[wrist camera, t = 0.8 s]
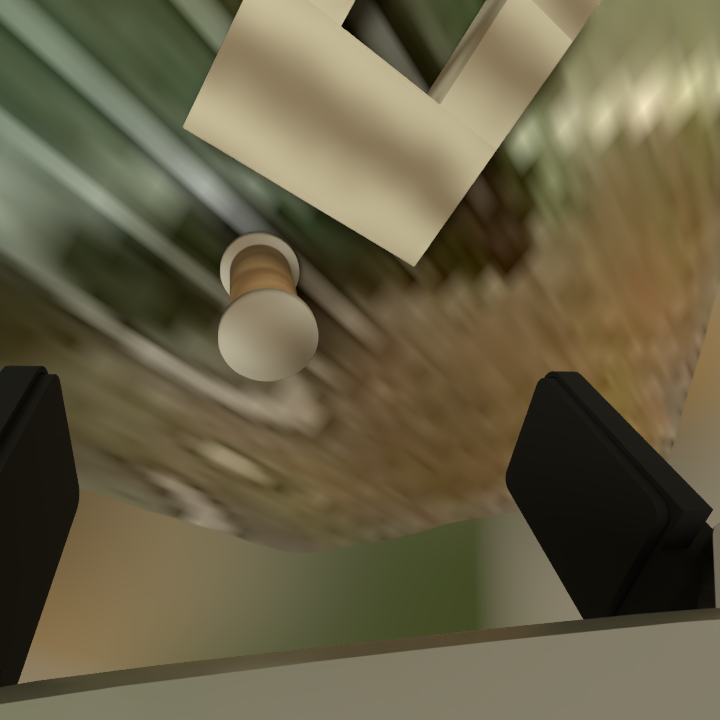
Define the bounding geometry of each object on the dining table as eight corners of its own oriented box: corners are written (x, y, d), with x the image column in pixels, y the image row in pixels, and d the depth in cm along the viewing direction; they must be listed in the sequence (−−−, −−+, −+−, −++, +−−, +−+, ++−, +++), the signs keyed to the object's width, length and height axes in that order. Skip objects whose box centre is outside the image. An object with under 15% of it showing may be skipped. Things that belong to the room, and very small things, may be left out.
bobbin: (274, 315, 39) (287, 394, 30) (206, 282, 36) (200, 358, 28) (312, 254, 37) (336, 321, 29) (243, 216, 35) (248, 276, 26)
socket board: (402, 251, 38) (414, 266, 36) (186, 119, 31) (182, 127, 29) (575, -3, 32) (605, -5, 29) (355, -237, 25) (370, -266, 22)
